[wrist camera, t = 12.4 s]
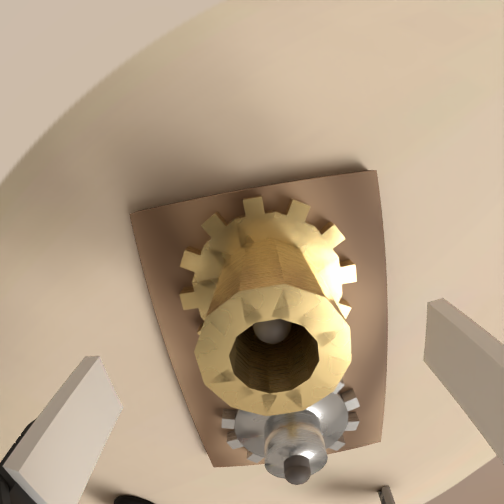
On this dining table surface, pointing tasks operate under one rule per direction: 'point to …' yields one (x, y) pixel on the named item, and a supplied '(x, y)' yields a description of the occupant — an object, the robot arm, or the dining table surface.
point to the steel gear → (294, 431)
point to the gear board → (360, 295)
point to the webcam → (130, 500)
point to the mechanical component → (386, 496)
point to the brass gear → (270, 308)
